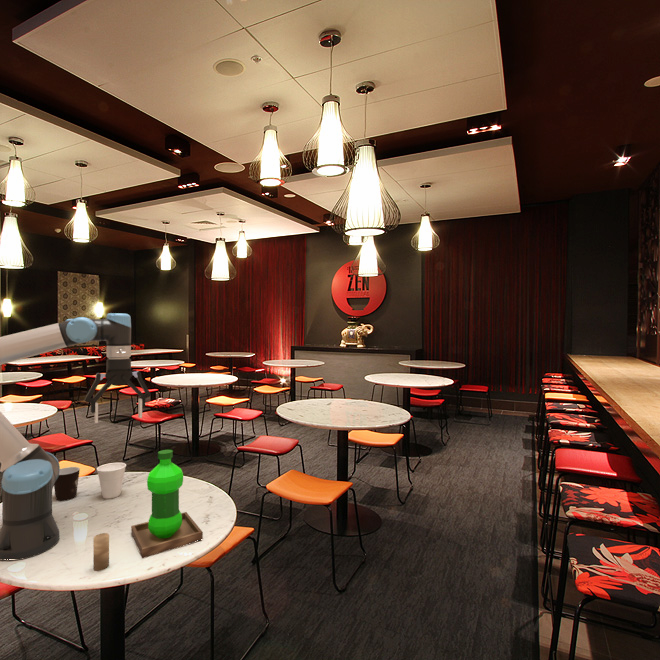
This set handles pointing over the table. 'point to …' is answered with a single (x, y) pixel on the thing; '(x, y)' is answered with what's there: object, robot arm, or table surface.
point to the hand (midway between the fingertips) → (118, 419)
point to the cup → (111, 479)
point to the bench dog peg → (101, 551)
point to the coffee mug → (67, 483)
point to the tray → (155, 545)
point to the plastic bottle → (165, 496)
